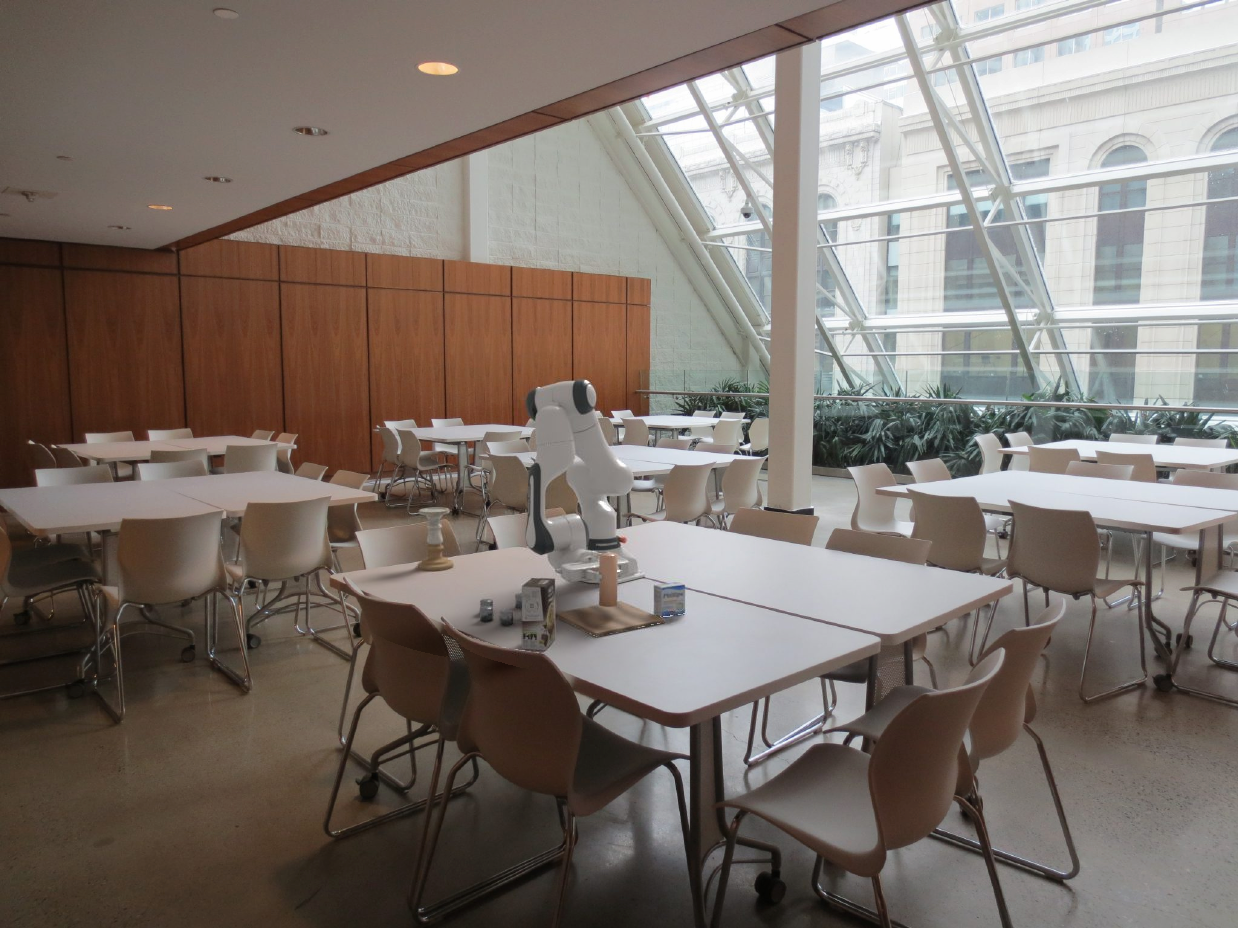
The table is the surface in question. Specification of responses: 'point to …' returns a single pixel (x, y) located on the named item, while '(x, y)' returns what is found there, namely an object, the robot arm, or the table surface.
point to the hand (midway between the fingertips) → (610, 575)
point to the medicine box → (669, 599)
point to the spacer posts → (505, 615)
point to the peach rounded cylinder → (608, 579)
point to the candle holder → (434, 541)
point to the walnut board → (608, 618)
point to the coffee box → (538, 613)
